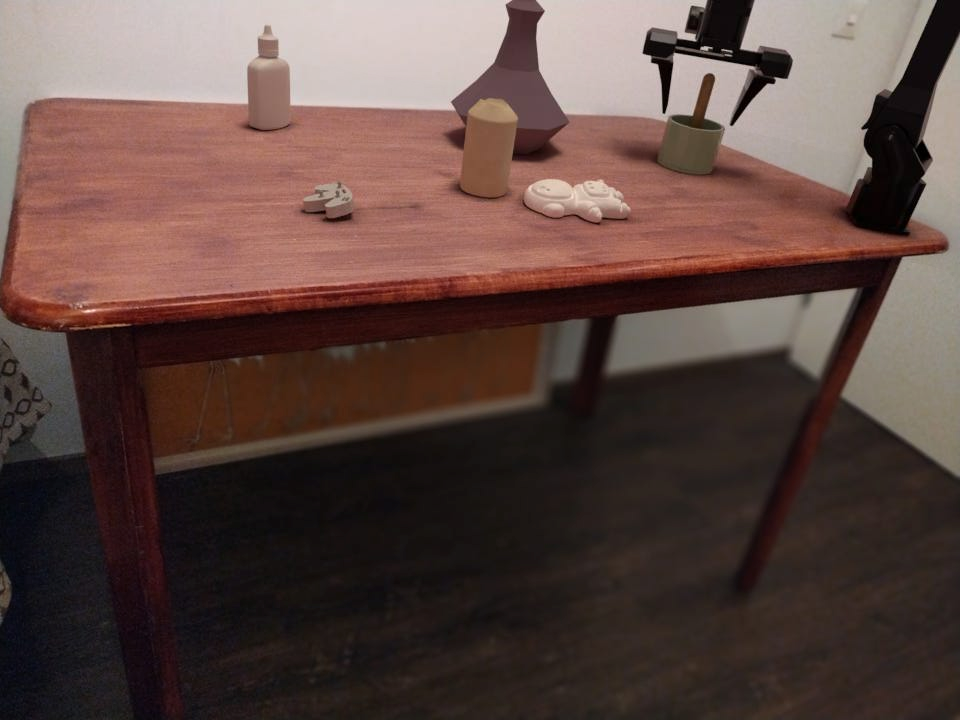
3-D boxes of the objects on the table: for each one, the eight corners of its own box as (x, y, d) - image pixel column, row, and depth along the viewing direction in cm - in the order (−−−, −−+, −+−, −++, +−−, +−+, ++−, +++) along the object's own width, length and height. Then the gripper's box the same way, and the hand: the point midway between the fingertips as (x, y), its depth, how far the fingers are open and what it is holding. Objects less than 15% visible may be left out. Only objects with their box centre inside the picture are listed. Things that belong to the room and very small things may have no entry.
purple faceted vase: (559, 171, 95) (592, 0, 84) (435, 149, 96) (451, -22, 85) (567, 137, 108) (595, -13, 98) (458, 119, 109) (474, -32, 99)
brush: (699, 160, 105) (724, 73, 99) (700, 168, 102) (727, 78, 96) (671, 155, 106) (695, 68, 100) (671, 163, 103) (696, 73, 96)
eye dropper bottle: (243, 121, 95) (239, 20, 89) (286, 120, 98) (285, 22, 91) (252, 131, 92) (248, 28, 86) (296, 130, 95) (296, 30, 88)
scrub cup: (710, 162, 107) (722, 121, 104) (713, 178, 101) (727, 134, 97) (657, 152, 108) (667, 111, 105) (656, 167, 101) (668, 123, 98)
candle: (502, 201, 82) (515, 111, 77) (454, 192, 83) (464, 101, 78) (510, 186, 87) (523, 99, 82) (465, 177, 88) (475, 91, 82)
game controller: (292, 204, 74) (292, 179, 73) (385, 189, 81) (387, 166, 80) (323, 224, 71) (323, 198, 69) (417, 207, 78) (419, 183, 77)
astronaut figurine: (632, 228, 81) (638, 202, 79) (523, 214, 80) (528, 187, 78) (621, 200, 88) (627, 176, 86) (522, 187, 87) (526, 162, 86)
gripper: (797, 0, 98) (759, 118, 107) (658, -23, 100) (631, 95, 109) (812, 8, 89) (768, 137, 97) (658, -17, 91) (628, 111, 99)
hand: (697, 119), depth 101 cm, fingers open, 9 cm apart
